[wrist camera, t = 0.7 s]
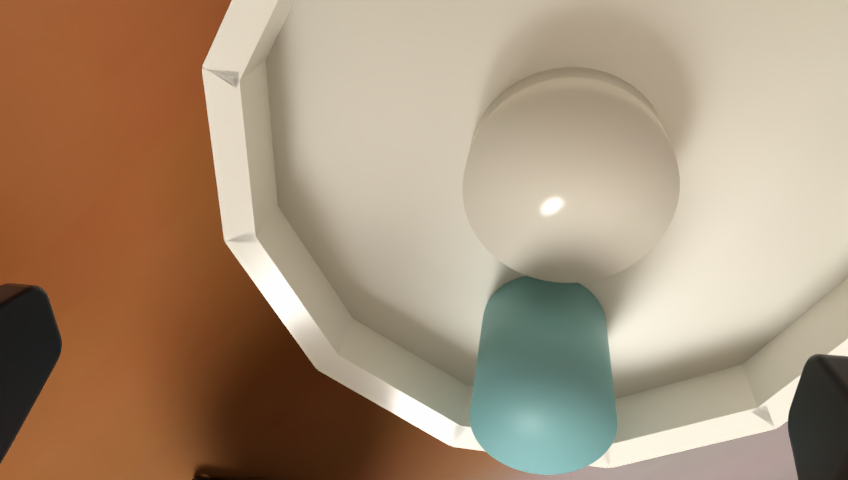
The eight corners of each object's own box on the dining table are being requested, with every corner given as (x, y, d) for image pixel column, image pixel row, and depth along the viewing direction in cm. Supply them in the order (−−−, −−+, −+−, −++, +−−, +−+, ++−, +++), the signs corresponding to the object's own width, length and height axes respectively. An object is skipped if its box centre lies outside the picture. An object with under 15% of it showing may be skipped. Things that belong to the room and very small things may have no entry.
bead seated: (596, 379, 24) (604, 483, 20) (478, 364, 24) (465, 463, 21) (615, 281, 22) (629, 375, 18) (487, 267, 22) (474, 356, 19)
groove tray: (814, 436, 25) (844, 505, 22) (271, 366, 27) (242, 421, 25) (1106, -247, 15) (1221, -264, 12) (206, -265, 17) (146, -283, 15)
